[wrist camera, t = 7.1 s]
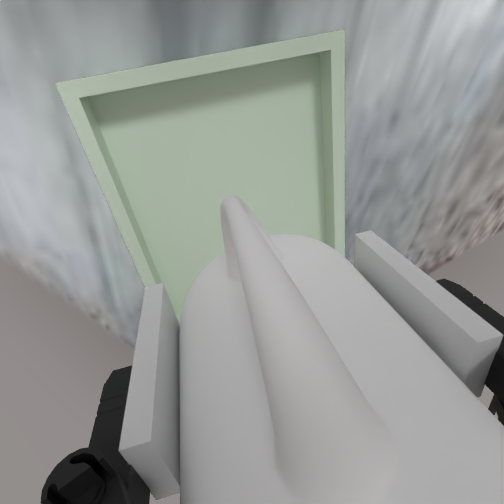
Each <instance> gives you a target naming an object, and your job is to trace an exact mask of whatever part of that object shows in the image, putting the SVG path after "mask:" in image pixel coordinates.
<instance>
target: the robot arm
mask: <svg viewBox="0 0 504 504" xmlns="http://www.w3.org/2000/svg"><path fill="white" fill-rule="evenodd" d="M355 268H356V269H357V270H358V271H359V273H360V274H361V275H362V276H363V277H364V278H365V279H366V280H367V281H368V282H369V283H370V284H371V285H372V286H373V287H374V289H375V290H376V291H377V292H378V293H379V294H380V295H381V296H382V297H383V298H384V299H385V300H386V301H387V302H388V303H389V304H390V306H391V307H392V308H393V309H394V310H395V311H396V312H397V313H398V314H399V315H400V316H401V317H402V318H403V319H404V320H405V322H406V323H407V324H408V325H409V326H410V327H411V328H412V329H413V330H414V331H415V332H416V333H417V334H418V335H419V336H420V337H421V339H422V340H423V341H424V342H425V343H426V344H427V345H428V346H429V347H430V348H431V349H432V350H433V351H434V352H435V353H436V354H437V356H438V357H439V358H440V359H441V360H442V361H443V362H444V363H445V364H446V365H447V366H448V367H449V368H450V369H451V370H452V372H453V373H454V374H455V375H456V376H457V377H458V378H459V379H460V380H461V381H462V382H463V383H464V384H465V385H466V386H467V387H468V389H469V390H470V391H471V392H472V393H473V394H474V395H475V396H476V397H477V398H478V397H480V396H481V393H482V391H483V388H484V385H486V386H487V387H488V388H489V389H490V390H491V391H492V392H493V393H494V396H493V399H492V401H491V403H490V406H489V408H488V410H489V411H490V412H491V413H492V414H493V415H495V412H497V414H498V420H499V422H501V424H502V425H503V426H504V317H503V316H502V315H500V314H499V313H497V312H496V311H495V310H493V309H492V308H491V307H489V306H488V305H486V304H483V302H482V301H481V300H480V299H478V298H477V297H476V296H473V294H472V293H470V292H469V291H467V290H466V289H465V288H463V287H462V286H461V285H458V284H456V283H454V282H451V281H449V280H446V279H441V280H438V281H434V280H433V279H432V278H430V277H429V276H428V275H427V274H426V273H424V272H423V271H422V270H421V269H419V268H418V267H417V266H415V265H414V264H413V263H412V262H410V261H409V260H408V259H407V258H405V257H404V256H403V255H402V254H400V253H399V252H398V251H396V250H395V249H394V248H393V247H391V246H390V245H389V244H388V243H386V242H385V241H384V240H383V239H381V238H380V237H379V236H378V235H376V234H375V233H374V232H372V231H371V230H370V231H366V232H362V233H358V234H355ZM179 331H180V324H179V322H178V319H177V316H176V314H175V311H174V309H173V306H172V304H171V301H170V299H169V296H168V294H167V291H166V289H165V286H164V283H160V284H156V285H152V286H148V287H145V292H144V298H143V304H142V310H141V316H140V322H139V328H138V334H137V341H136V347H135V353H134V359H133V365H132V366H128V367H125V368H121V369H118V370H114V371H113V372H112V373H111V375H110V377H109V378H108V380H107V381H106V383H105V384H104V387H103V391H102V395H101V399H100V404H99V407H98V411H97V417H96V419H95V423H94V427H93V432H92V436H91V439H90V444H89V447H88V448H82V449H79V450H77V451H75V452H73V453H71V454H69V455H68V456H67V457H65V458H64V459H63V460H62V461H61V462H60V463H59V464H57V466H56V467H55V468H54V470H53V471H52V472H51V474H50V475H49V476H48V478H47V480H46V483H45V485H44V487H43V489H42V495H41V504H149V499H150V493H151V494H152V495H153V496H154V498H155V499H156V500H157V499H161V498H164V497H167V496H170V495H173V494H176V493H180V381H179Z"/></svg>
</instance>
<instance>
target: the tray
mask: <svg viewBox="0 0 504 504" xmlns="http://www.w3.org/2000/svg"><path fill="white" fill-rule="evenodd" d="M55 85H56V87H57V90H58V92H59V94H60V96H61V99H62V101H63V103H64V106H65V108H66V110H67V112H68V115H69V117H70V119H71V121H72V124H73V126H74V128H75V130H76V133H77V135H78V137H79V140H80V142H81V144H82V146H83V149H84V151H85V153H86V155H87V158H88V160H89V162H90V164H91V167H92V169H93V171H94V174H95V176H96V178H97V180H98V183H99V185H100V187H101V189H102V192H103V194H104V196H105V198H106V201H107V203H108V205H109V208H110V210H111V212H112V214H113V217H114V219H115V221H116V223H117V226H118V228H119V230H120V232H121V235H122V237H123V239H124V242H125V244H126V246H127V248H128V251H129V253H130V255H131V257H132V260H133V262H134V264H135V266H136V269H137V271H138V273H139V276H140V278H141V280H142V282H143V285H144V287H148V286H152V285H156V284H160V283H164V286H165V289H166V291H167V294H168V296H169V299H170V301H171V304H172V306H173V309H174V311H175V314H176V316H177V319H178V322H179V324H180V317H181V311H182V307H183V303H184V300H185V297H186V295H187V292H188V290H189V288H190V286H191V285H192V283H193V281H194V280H195V278H196V277H197V276H198V275H199V273H200V272H201V271H202V270H203V269H204V268H205V267H206V266H207V265H208V264H209V263H210V262H211V261H212V260H213V259H215V258H216V257H217V256H219V255H220V254H221V253H223V252H224V251H225V246H224V240H223V233H222V226H221V217H220V207H221V203H222V201H223V199H224V198H225V197H227V196H229V195H235V196H237V197H239V198H241V199H242V200H243V202H244V203H245V204H246V205H247V206H248V207H249V208H250V210H251V211H252V212H253V214H254V215H255V217H256V218H257V219H258V221H259V222H260V224H261V225H262V226H263V228H264V229H265V230H266V232H267V233H268V235H274V234H297V235H302V236H307V237H311V238H313V239H316V240H319V241H321V242H323V243H325V244H327V245H329V246H330V247H332V248H333V249H335V250H336V251H337V252H339V253H340V254H341V255H343V256H344V257H345V29H343V30H338V31H333V32H327V33H322V34H316V35H311V36H306V37H300V38H295V39H289V40H284V41H279V42H273V43H268V44H262V45H257V46H252V47H246V48H241V49H235V50H230V51H225V52H219V53H214V54H208V55H203V56H198V57H192V58H187V59H181V60H176V61H171V62H165V63H160V64H154V65H149V66H144V67H138V68H133V69H127V70H122V71H117V72H111V73H106V74H100V75H95V76H90V77H84V78H79V79H73V80H68V81H63V82H57V83H55Z"/></svg>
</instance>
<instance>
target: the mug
mask: <svg viewBox="0 0 504 504" xmlns="http://www.w3.org/2000/svg"><path fill="white" fill-rule="evenodd" d="M220 217H221V226H222V233H223V240H224V246H225V251H224V252H223V253H221V254H220V255H219V256H217V257H216V258H215V259H213V260H212V261H211V262H210V263H209V264H208V265H207V266H206V267H205V268H204V269H203V270H202V271H201V272H200V273H199V275H198V276H197V277H196V278H195V280H194V281H193V283H192V285H191V286H190V288H189V290H188V292H187V295H186V297H185V300H184V303H183V307H182V311H181V317H180V331H179V381H180V504H504V426H503V425H502V424H501V423H500V422H499V420H498V419H497V418H496V417H495V416H494V415H493V414H492V413H491V412H490V411H489V410H488V409H487V408H486V407H485V406H484V405H483V403H482V402H481V401H480V400H479V399H478V398H477V397H476V396H475V395H474V394H473V393H472V392H471V391H470V390H469V389H468V387H467V386H466V385H465V384H464V383H463V382H462V381H461V380H460V379H459V378H458V377H457V376H456V375H455V374H454V373H453V372H452V370H451V369H450V368H449V367H448V366H447V365H446V364H445V363H444V362H443V361H442V360H441V359H440V358H439V357H438V356H437V354H436V353H435V352H434V351H433V350H432V349H431V348H430V347H429V346H428V345H427V344H426V343H425V342H424V341H423V340H422V339H421V337H420V336H419V335H418V334H417V333H416V332H415V331H414V330H413V329H412V328H411V327H410V326H409V325H408V324H407V323H406V322H405V320H404V319H403V318H402V317H401V316H400V315H399V314H398V313H397V312H396V311H395V310H394V309H393V308H392V307H391V306H390V304H389V303H388V302H387V301H386V300H385V299H384V298H383V297H382V296H381V295H380V294H379V293H378V292H377V291H376V290H375V289H374V287H373V286H372V285H371V284H370V283H369V282H368V281H367V280H366V279H365V278H364V277H363V276H362V275H361V274H360V273H359V271H358V270H357V269H356V268H355V267H354V266H353V265H352V264H351V263H350V262H349V261H348V260H347V259H346V258H345V257H344V256H343V255H341V254H340V253H339V252H337V251H336V250H335V249H333V248H332V247H330V246H329V245H327V244H325V243H323V242H321V241H319V240H316V239H313V238H311V237H307V236H302V235H297V234H274V235H268V233H267V232H266V230H265V229H264V228H263V226H262V225H261V224H260V222H259V221H258V219H257V218H256V217H255V215H254V214H253V212H252V211H251V210H250V208H249V207H248V206H247V205H246V204H245V203H244V202H243V200H242V199H241V198H239V197H237V196H235V195H229V196H227V197H225V198H224V199H223V201H222V203H221V207H220Z"/></svg>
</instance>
